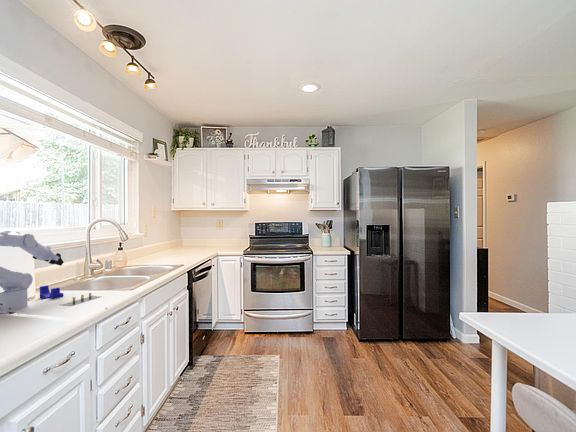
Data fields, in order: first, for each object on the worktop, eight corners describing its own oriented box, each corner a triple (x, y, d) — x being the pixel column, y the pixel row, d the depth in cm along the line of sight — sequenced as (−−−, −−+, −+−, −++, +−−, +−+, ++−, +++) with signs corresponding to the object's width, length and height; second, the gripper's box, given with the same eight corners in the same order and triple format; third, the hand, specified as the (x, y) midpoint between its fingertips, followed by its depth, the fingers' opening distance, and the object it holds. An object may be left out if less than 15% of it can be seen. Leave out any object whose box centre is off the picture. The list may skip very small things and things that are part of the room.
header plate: (70, 308, 131) (70, 305, 131) (58, 307, 133) (58, 304, 133) (102, 299, 147) (102, 296, 147) (91, 298, 149) (91, 295, 149)
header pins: (73, 303, 136) (73, 297, 136) (72, 303, 136) (72, 297, 136) (91, 298, 144) (91, 292, 144) (90, 298, 144) (90, 292, 144)
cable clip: (63, 299, 148) (63, 287, 148) (52, 301, 144) (52, 288, 144) (50, 296, 154) (50, 284, 154) (39, 298, 150) (39, 286, 150)
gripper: (55, 246, 143) (72, 258, 154) (29, 238, 145) (48, 251, 156) (45, 259, 139) (63, 271, 150) (18, 251, 141) (38, 263, 152)
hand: (55, 261), depth 153 cm, fingers open, 7 cm apart
